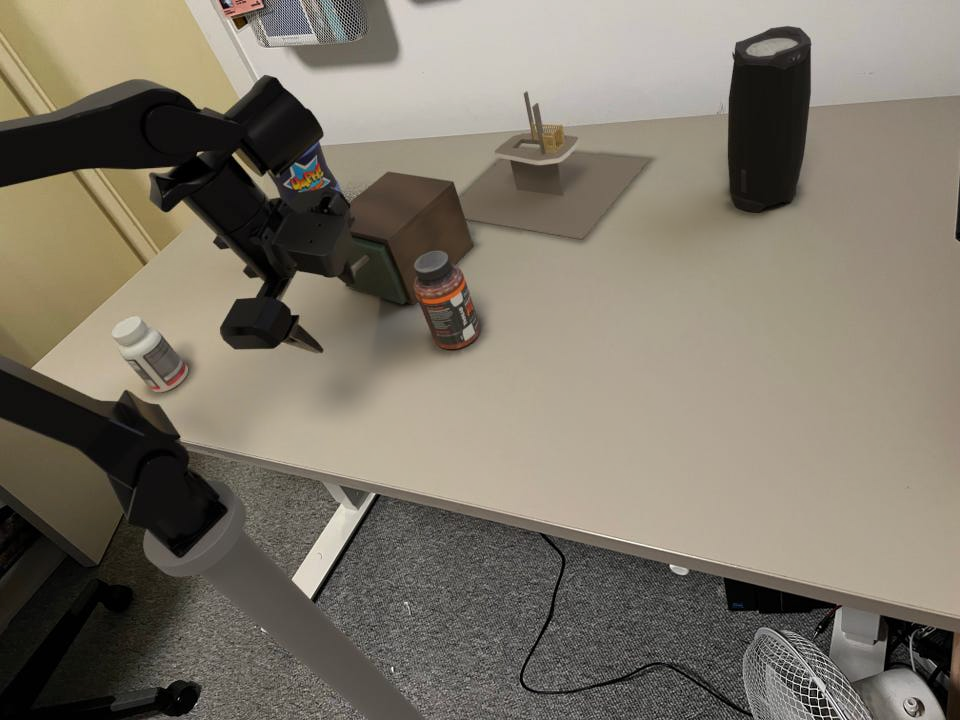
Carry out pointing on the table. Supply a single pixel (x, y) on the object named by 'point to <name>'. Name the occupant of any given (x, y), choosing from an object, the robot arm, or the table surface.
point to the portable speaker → (768, 116)
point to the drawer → (375, 271)
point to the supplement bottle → (445, 301)
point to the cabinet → (411, 221)
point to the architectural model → (548, 183)
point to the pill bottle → (149, 354)
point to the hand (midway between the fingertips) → (336, 316)
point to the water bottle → (305, 175)
